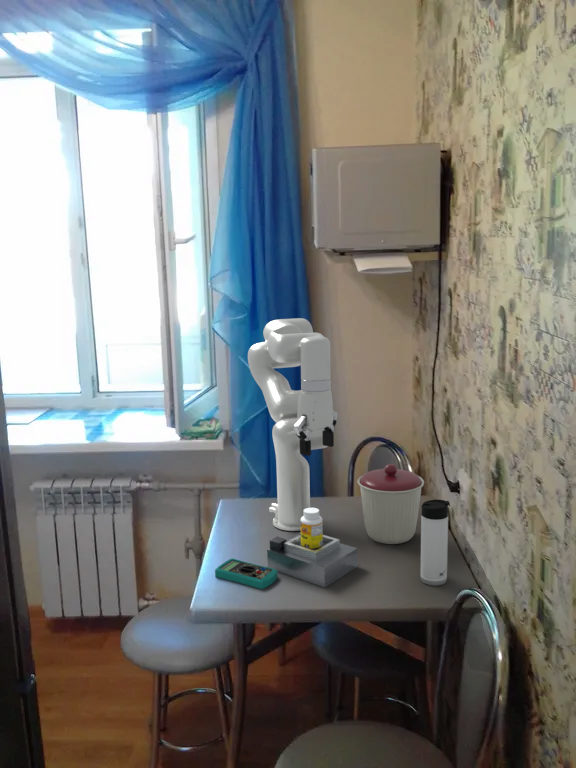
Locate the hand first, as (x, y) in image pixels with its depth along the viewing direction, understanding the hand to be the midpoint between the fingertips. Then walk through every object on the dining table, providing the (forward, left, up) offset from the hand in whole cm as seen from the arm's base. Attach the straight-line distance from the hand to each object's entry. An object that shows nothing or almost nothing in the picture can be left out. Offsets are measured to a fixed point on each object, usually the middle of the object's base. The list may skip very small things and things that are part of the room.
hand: (317, 450), depth 183 cm
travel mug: (+32, +4, -28) cm, 43 cm away
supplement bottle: (+4, -8, -24) cm, 25 cm away
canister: (+10, +20, -28) cm, 36 cm away
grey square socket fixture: (+4, -8, -28) cm, 30 cm away
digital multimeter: (-6, -22, -29) cm, 37 cm away
